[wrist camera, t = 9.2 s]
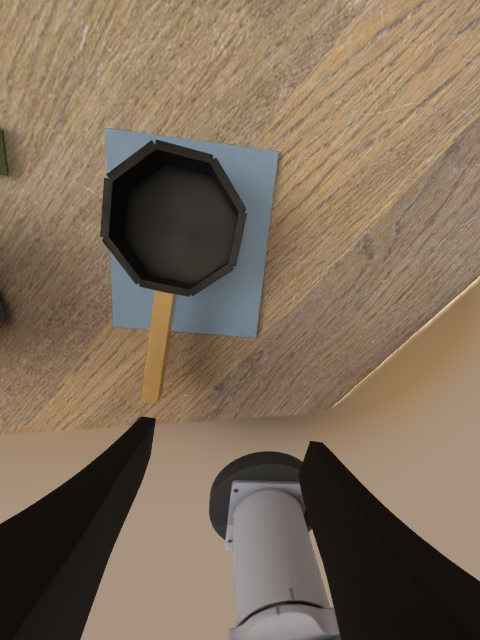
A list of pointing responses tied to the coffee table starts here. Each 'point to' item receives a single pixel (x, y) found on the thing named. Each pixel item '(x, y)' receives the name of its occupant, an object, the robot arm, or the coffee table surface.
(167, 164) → the pan
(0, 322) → the figurine
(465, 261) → the coffee table surface
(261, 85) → the coffee table surface
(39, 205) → the coffee table surface
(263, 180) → the napkin
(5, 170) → the green rectangular block
